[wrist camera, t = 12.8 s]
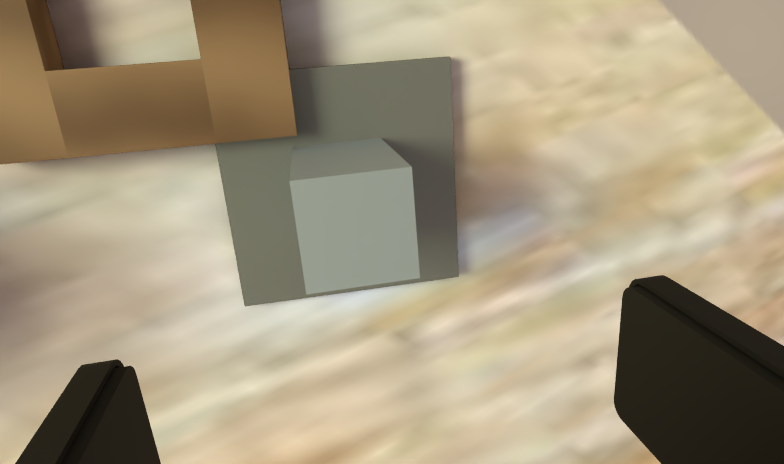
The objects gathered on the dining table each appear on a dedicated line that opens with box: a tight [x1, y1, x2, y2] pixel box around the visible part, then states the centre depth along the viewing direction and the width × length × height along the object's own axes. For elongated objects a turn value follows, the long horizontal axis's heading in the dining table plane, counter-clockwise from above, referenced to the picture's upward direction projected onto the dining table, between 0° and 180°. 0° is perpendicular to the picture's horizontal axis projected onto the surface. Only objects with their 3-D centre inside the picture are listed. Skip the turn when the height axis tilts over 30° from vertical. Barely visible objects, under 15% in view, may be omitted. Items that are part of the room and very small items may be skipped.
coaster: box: [215, 57, 459, 306], centre depth 28 cm, size 12×12×1 cm
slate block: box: [289, 138, 420, 295], centre depth 24 cm, size 4×4×8 cm
